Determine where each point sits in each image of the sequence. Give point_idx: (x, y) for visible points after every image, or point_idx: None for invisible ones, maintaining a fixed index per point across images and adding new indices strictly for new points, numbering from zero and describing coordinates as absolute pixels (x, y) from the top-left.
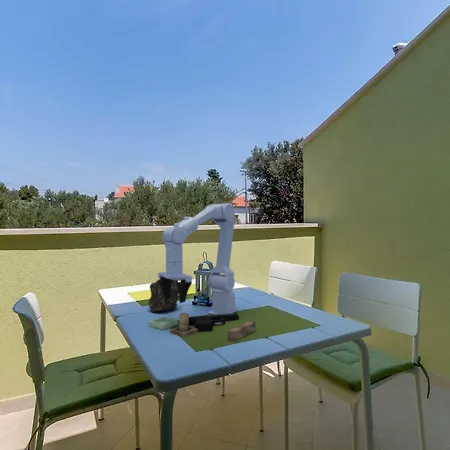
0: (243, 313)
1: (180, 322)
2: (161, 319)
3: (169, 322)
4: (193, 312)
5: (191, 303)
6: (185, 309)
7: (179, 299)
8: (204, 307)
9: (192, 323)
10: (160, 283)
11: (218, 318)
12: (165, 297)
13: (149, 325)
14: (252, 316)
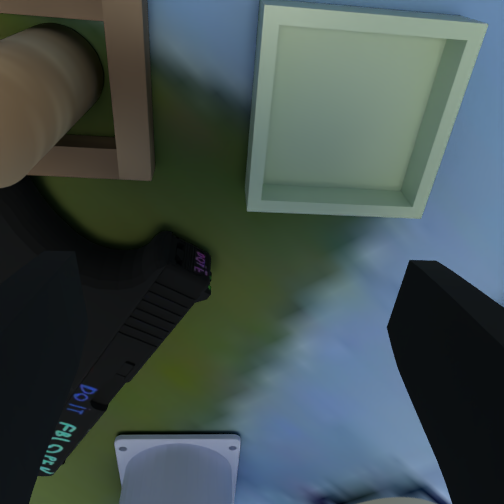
0: (80, 500)
1: (2, 45)
2: (417, 170)
3: (260, 112)
4: (333, 412)
5: (440, 491)
6: (414, 425)
7: (43, 272)
8: (331, 481)
9: (140, 250)
10: None
11: None
12: (422, 283)
13: (463, 17)
14: None
